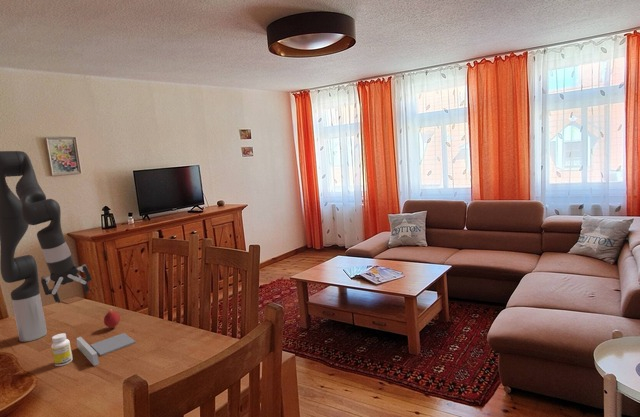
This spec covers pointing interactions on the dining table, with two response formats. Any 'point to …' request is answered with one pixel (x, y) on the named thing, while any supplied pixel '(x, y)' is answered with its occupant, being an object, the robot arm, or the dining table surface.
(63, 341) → the supplement bottle
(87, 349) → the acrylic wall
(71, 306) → the dining table surface
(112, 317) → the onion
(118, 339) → the slate mat
